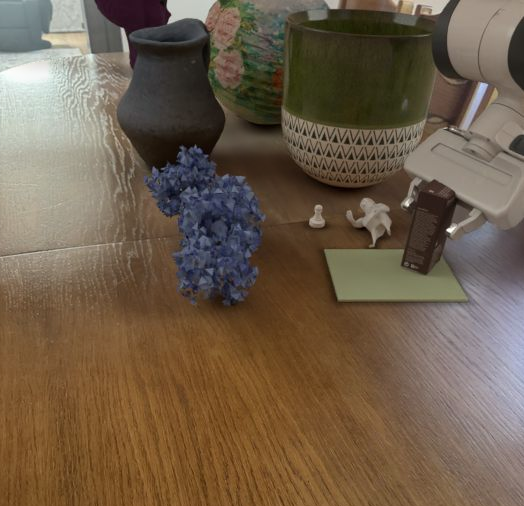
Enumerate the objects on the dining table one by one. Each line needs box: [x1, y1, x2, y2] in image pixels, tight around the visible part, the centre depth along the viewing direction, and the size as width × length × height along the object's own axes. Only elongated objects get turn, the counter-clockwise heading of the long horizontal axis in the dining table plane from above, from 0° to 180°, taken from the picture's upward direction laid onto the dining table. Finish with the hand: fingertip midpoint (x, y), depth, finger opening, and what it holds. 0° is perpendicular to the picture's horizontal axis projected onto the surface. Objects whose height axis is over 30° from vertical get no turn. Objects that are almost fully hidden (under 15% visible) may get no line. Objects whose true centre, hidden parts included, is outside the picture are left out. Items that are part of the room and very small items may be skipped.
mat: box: [323, 248, 469, 303], centre depth 82 cm, size 18×14×1 cm
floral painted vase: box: [203, 0, 331, 125], centre depth 127 cm, size 32×33×30 cm
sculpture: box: [93, 0, 172, 71], centre depth 160 cm, size 18×22×30 cm
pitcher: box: [116, 17, 227, 174], centre depth 105 cm, size 21×22×25 cm
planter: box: [281, 8, 439, 189], centre depth 101 cm, size 27×27×27 cm
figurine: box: [345, 197, 393, 249], centre depth 91 cm, size 6×6×12 cm
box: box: [400, 179, 458, 275], centre depth 80 cm, size 6×4×12 cm
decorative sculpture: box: [143, 144, 266, 307], centre depth 78 cm, size 14×15×30 cm
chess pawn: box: [308, 204, 326, 229], centre depth 93 cm, size 3×3×4 cm
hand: (426, 223), depth 79 cm, fingers open, 8 cm apart
